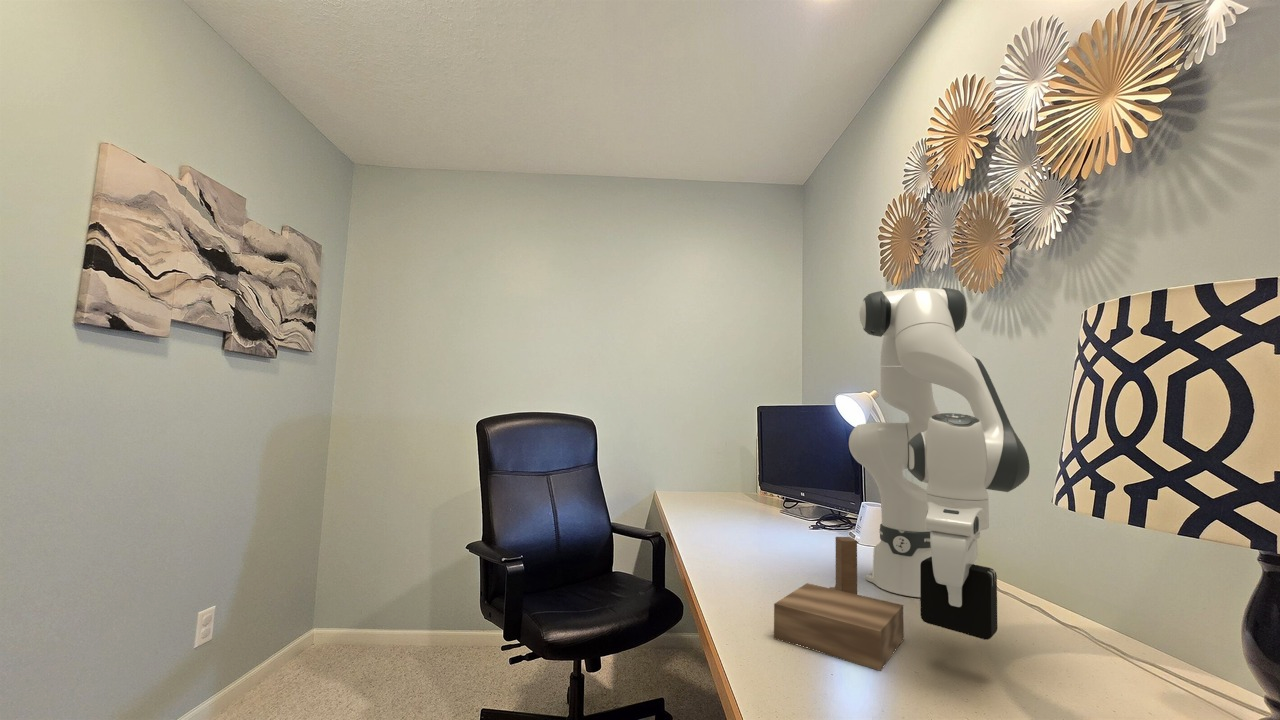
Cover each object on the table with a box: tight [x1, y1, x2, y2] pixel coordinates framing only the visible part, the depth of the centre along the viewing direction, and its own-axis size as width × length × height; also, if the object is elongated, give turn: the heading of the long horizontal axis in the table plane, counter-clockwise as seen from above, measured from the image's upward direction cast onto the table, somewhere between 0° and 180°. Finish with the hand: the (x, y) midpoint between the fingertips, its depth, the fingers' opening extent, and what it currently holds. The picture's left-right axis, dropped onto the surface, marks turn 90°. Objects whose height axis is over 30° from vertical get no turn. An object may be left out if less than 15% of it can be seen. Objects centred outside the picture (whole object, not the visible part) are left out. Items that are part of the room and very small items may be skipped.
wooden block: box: [829, 536, 858, 595], centre depth 112 cm, size 7×3×15 cm, turn 3°
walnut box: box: [773, 582, 905, 672], centre depth 97 cm, size 16×18×6 cm
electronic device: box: [919, 556, 998, 641], centre depth 86 cm, size 4×10×10 cm, turn 45°
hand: (958, 600), depth 87 cm, fingers closed on electronic device, 4 cm apart
